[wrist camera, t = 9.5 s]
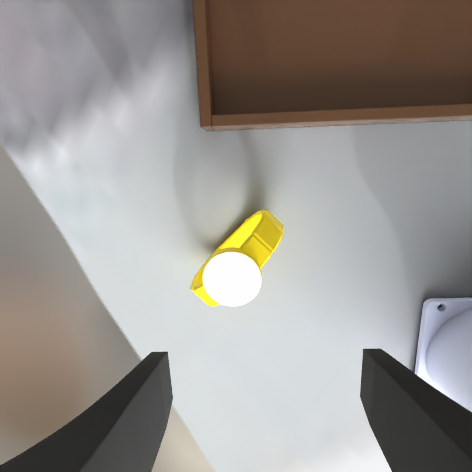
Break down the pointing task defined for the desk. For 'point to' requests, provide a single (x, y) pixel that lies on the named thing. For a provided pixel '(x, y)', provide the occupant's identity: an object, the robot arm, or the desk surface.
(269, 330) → the desk surface
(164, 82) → the desk surface
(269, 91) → the tray
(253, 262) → the watch
